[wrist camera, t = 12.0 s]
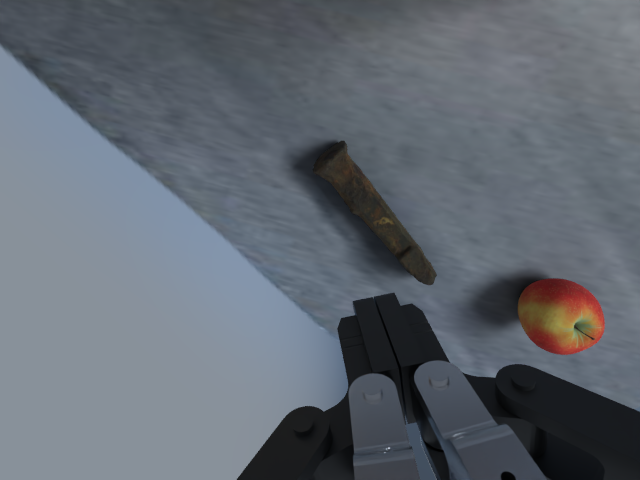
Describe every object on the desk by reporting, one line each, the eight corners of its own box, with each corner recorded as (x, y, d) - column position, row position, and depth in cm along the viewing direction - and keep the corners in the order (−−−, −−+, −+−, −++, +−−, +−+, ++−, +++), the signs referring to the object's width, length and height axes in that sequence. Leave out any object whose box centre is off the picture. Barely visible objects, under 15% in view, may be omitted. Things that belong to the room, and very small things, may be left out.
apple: (494, 316, 52) (539, 373, 43) (519, 261, 49) (573, 309, 40) (550, 323, 54) (605, 379, 45) (578, 269, 50) (644, 318, 41)
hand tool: (308, 160, 42) (312, 173, 37) (340, 135, 41) (347, 146, 37) (404, 283, 49) (416, 305, 45) (433, 264, 48) (448, 285, 44)
